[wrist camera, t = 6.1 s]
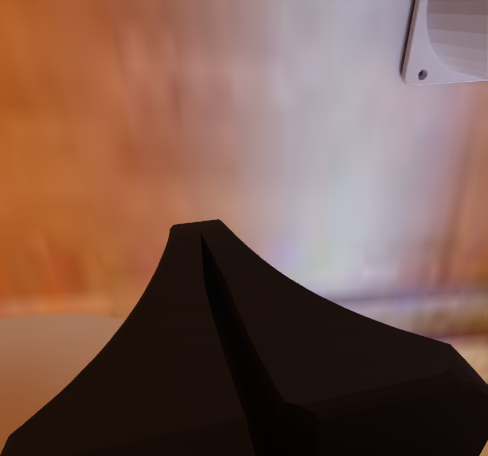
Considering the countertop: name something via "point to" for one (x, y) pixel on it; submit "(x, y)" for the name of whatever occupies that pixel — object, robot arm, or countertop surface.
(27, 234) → the countertop surface
